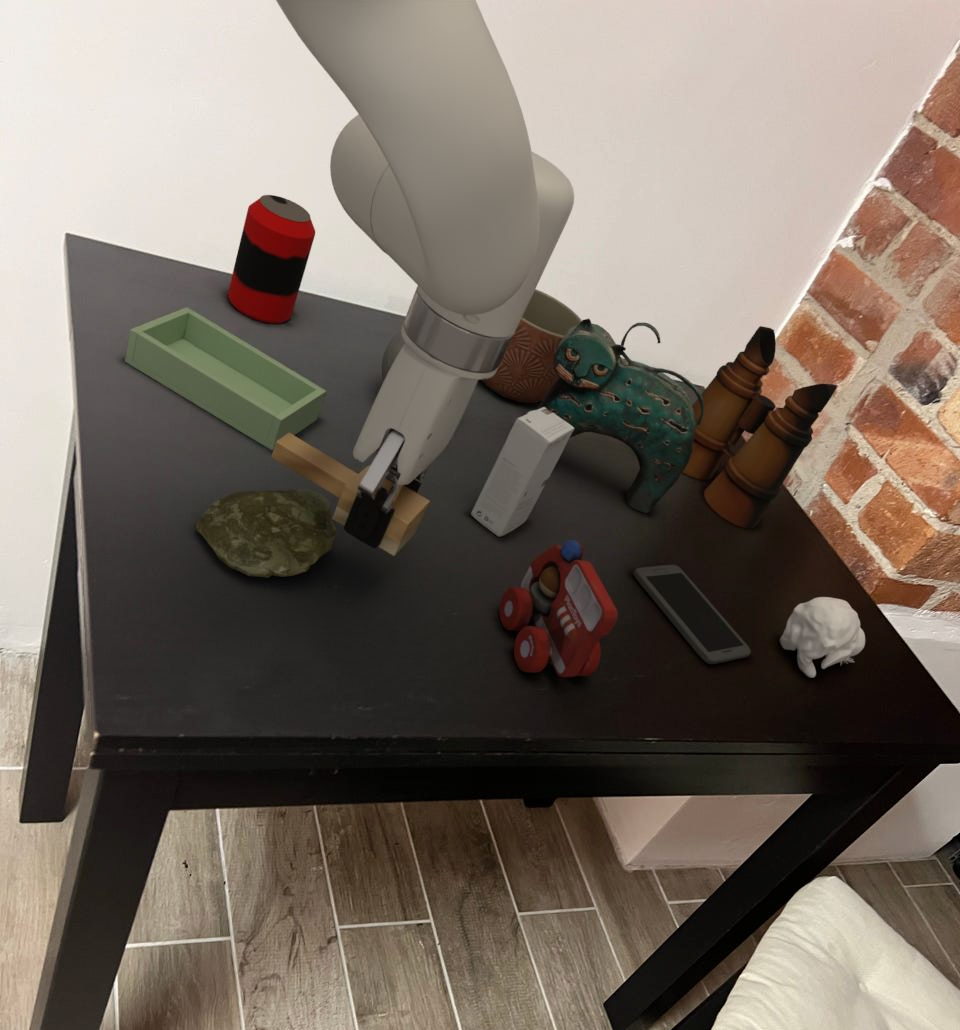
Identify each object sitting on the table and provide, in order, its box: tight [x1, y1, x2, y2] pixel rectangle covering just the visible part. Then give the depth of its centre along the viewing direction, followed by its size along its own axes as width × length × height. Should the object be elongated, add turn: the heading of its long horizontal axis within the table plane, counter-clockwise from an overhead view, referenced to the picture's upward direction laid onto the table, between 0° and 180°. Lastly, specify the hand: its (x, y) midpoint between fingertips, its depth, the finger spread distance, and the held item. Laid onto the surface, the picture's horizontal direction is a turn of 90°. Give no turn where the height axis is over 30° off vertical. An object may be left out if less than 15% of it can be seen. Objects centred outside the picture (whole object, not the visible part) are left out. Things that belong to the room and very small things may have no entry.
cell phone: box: [632, 564, 752, 665], centre depth 98 cm, size 7×14×1 cm, turn 32°
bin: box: [124, 306, 327, 451], centre depth 91 cm, size 17×9×4 cm, turn 68°
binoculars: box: [682, 325, 838, 529], centre depth 118 cm, size 18×8×20 cm, turn 31°
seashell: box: [195, 488, 337, 579], centre depth 77 cm, size 10×7×10 cm
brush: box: [270, 433, 430, 557], centre depth 75 cm, size 13×5×4 cm, turn 68°
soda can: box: [227, 194, 316, 324], centre depth 104 cm, size 8×8×12 cm
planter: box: [481, 288, 583, 404], centre depth 117 cm, size 12×12×11 cm
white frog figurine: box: [779, 596, 866, 679], centre depth 100 cm, size 6×8×12 cm
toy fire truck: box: [498, 539, 619, 678], centre depth 81 cm, size 7×12×10 cm, turn 16°
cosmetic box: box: [470, 407, 574, 538], centre depth 93 cm, size 6×4×12 cm
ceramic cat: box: [537, 318, 704, 514], centre depth 104 cm, size 20×6×20 cm, turn 81°
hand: (375, 522), depth 76 cm, fingers closed on brush, 4 cm apart
